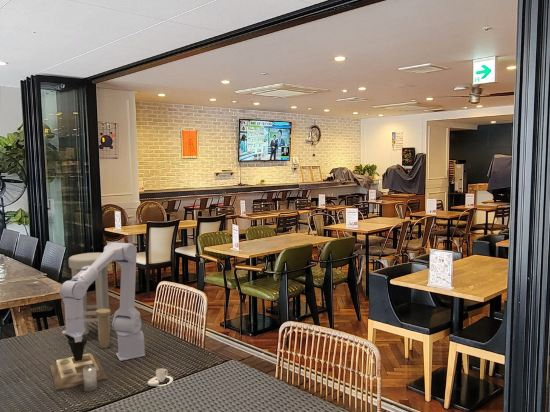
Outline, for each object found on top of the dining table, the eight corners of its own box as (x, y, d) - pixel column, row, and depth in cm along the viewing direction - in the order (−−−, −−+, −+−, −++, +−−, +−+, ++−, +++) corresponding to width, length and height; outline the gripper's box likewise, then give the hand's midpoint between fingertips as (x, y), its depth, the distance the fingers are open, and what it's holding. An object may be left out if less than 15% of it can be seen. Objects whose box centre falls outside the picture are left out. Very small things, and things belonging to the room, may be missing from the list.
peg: (96, 384, 162) (94, 364, 161) (98, 389, 159) (97, 368, 158) (83, 387, 160) (82, 367, 159) (85, 392, 157) (83, 371, 156)
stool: (80, 331, 214) (75, 253, 211) (116, 329, 216) (112, 251, 212) (69, 344, 199) (63, 260, 195) (108, 342, 200) (103, 258, 197)
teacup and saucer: (149, 390, 158) (149, 378, 158) (144, 380, 165) (143, 369, 165) (175, 384, 162) (175, 372, 162) (169, 375, 169) (169, 363, 169)
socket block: (96, 357, 185) (95, 349, 184) (107, 379, 166) (106, 370, 165) (49, 366, 177) (49, 358, 177) (56, 391, 158) (55, 381, 158)
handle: (104, 350, 191) (102, 313, 190) (95, 347, 195) (93, 310, 194) (115, 346, 195) (113, 310, 194) (105, 343, 199) (103, 307, 197)
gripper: (59, 312, 165) (61, 351, 166) (63, 325, 152) (66, 366, 154) (81, 309, 168) (83, 347, 170) (87, 321, 156) (89, 362, 157)
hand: (76, 356), depth 162 cm, fingers open, 7 cm apart
